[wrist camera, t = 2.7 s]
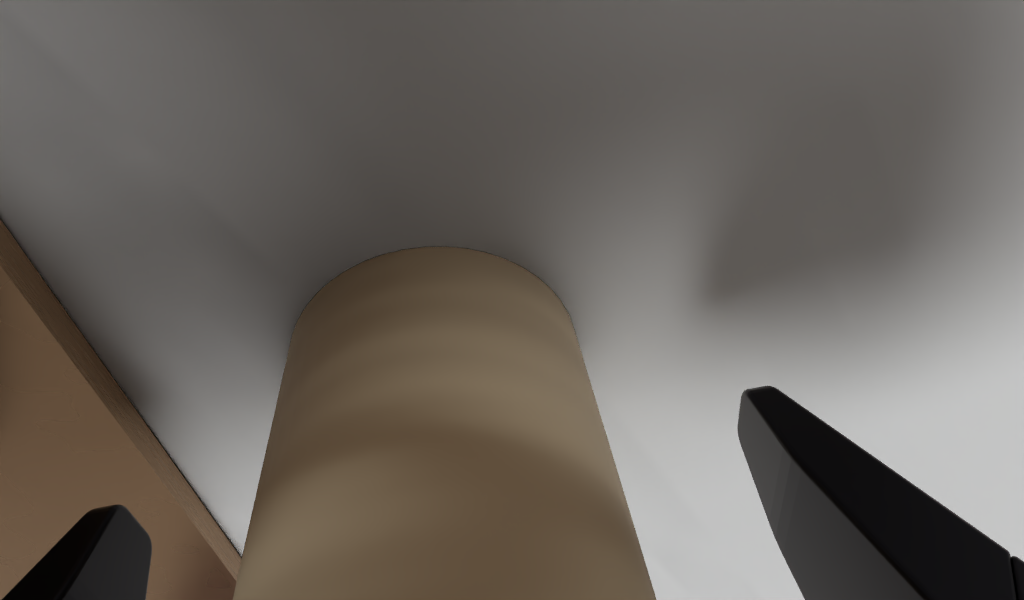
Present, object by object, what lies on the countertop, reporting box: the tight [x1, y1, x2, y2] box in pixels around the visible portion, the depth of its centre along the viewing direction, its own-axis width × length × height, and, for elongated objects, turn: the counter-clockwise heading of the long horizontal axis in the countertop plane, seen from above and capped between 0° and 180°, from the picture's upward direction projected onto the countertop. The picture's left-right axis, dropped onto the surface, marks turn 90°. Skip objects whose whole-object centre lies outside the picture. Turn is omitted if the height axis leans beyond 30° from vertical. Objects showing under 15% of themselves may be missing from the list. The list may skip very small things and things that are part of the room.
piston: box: [233, 247, 656, 600], centre depth 8 cm, size 5×5×8 cm
